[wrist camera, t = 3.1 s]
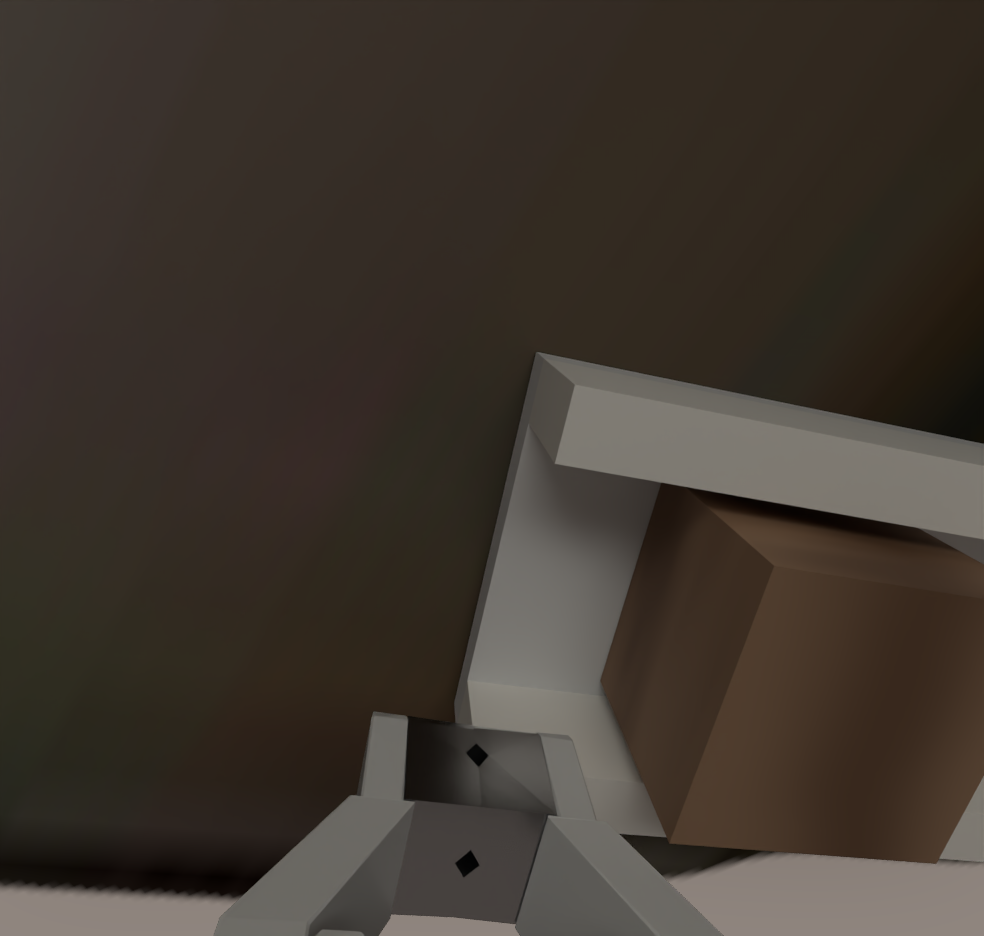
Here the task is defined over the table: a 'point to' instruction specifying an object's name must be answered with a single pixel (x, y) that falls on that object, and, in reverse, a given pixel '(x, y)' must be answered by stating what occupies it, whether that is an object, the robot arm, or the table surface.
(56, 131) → the table surface
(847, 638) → the walnut block
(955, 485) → the chute
